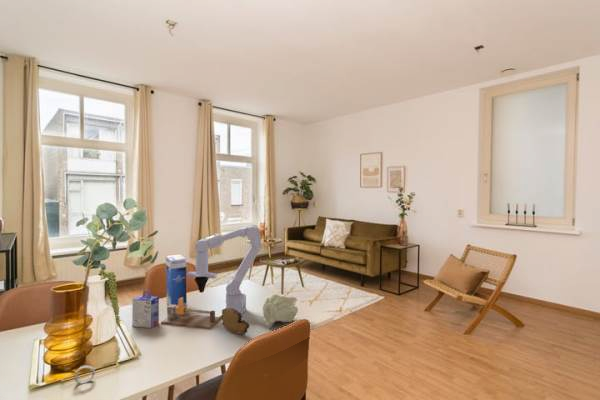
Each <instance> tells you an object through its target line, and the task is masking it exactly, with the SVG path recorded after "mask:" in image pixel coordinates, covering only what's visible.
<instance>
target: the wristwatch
mask: <svg viewBox="0 0 600 400" xmlns="http://www.w3.org/2000/svg"><path fill="white" fill-rule="evenodd" d="M83 369H89V370H91V371H92V374H91V375H92V376H91V377H90V378H87V379H85V380H81V379H79V377H78V376H79V371H80V370H83ZM95 372H96V371H95V367H94V366H92V365H81V366H80V367H79V368H78V369H77V370H75V373H74V381H75V383H78V384H79V385H80V384H81V385H83V384H87V383H89V382H90V381H92V380H93V379H94V376H95Z"/></svg>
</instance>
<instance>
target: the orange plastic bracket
mask: <svg viewBox="0 0 600 400" xmlns="http://www.w3.org/2000/svg"><path fill="white" fill-rule="evenodd" d="M184 309H188V308H187V306H183V297H181V298H179V299H178V306H177V307H175V314H187V312H186V311H184Z"/></svg>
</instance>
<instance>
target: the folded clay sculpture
mask: <svg viewBox="0 0 600 400" xmlns="http://www.w3.org/2000/svg"><path fill="white" fill-rule="evenodd" d="M297 301H298V298H296V297H294V296H285V295H283V296H280V295H278V294H273V295H272V296H271V297H268V298H266V299H265V302H264V303H263V307H262V312H263V313H262V314H263V316H262V319H263V322H264V324H265V326H266V328H268V329H271V328H272V327H273V325H274V324H275V322H282V323H292V321H293V320H294V319H295V317H296V315H297V314H298V311H299V308H298V307H297V306H295V305H296V303H297Z"/></svg>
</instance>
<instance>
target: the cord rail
mask: <svg viewBox="0 0 600 400" xmlns="http://www.w3.org/2000/svg"><path fill="white" fill-rule="evenodd" d="M175 307H177V305H172V304H171V305H169V306H166V309H167V312H166V314H167V317H165V318H164V319H163V320H161V321H160V324H161V325H166V326H167V325H168V326H169V325H170V326H179V327H188V328H197V329H207V330H211V329H212V328H213V327H214V326H215V325H216V324H217V323H219V321H221V319H220V318H219V317H220V316H216V310H210V311H209V310H199V309H188V308H187V309H184V311H186V313H184V314H175ZM188 312H189V313H188ZM191 313H197V314H191ZM201 314H209V315H201Z"/></svg>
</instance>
